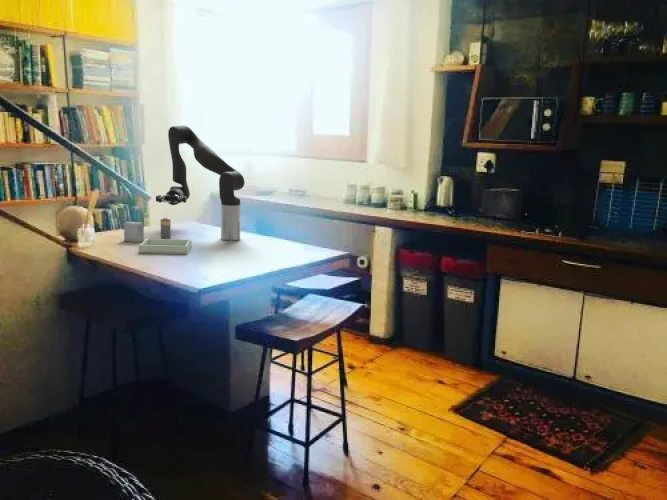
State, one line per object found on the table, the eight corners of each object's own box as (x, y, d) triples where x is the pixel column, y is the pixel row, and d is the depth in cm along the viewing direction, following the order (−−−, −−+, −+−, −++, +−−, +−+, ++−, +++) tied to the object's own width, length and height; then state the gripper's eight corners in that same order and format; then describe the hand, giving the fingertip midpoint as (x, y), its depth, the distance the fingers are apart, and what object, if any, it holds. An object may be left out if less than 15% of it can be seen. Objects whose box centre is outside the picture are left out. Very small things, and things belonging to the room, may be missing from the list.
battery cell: (171, 241, 265) (171, 217, 263) (170, 243, 261) (169, 218, 259) (161, 241, 265) (161, 217, 262) (160, 243, 260) (159, 218, 258)
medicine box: (144, 240, 265) (143, 222, 263) (138, 242, 261) (138, 224, 259) (129, 239, 267) (129, 221, 265) (124, 240, 263) (123, 222, 261)
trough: (191, 247, 256) (191, 239, 255) (187, 254, 241) (186, 246, 240) (146, 246, 253) (146, 238, 253) (138, 253, 239) (138, 245, 238)
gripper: (160, 188, 283) (153, 192, 268) (188, 189, 285) (184, 193, 269) (160, 203, 285) (153, 207, 269) (188, 204, 287) (184, 209, 271)
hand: (169, 200), depth 269 cm, fingers open, 8 cm apart
